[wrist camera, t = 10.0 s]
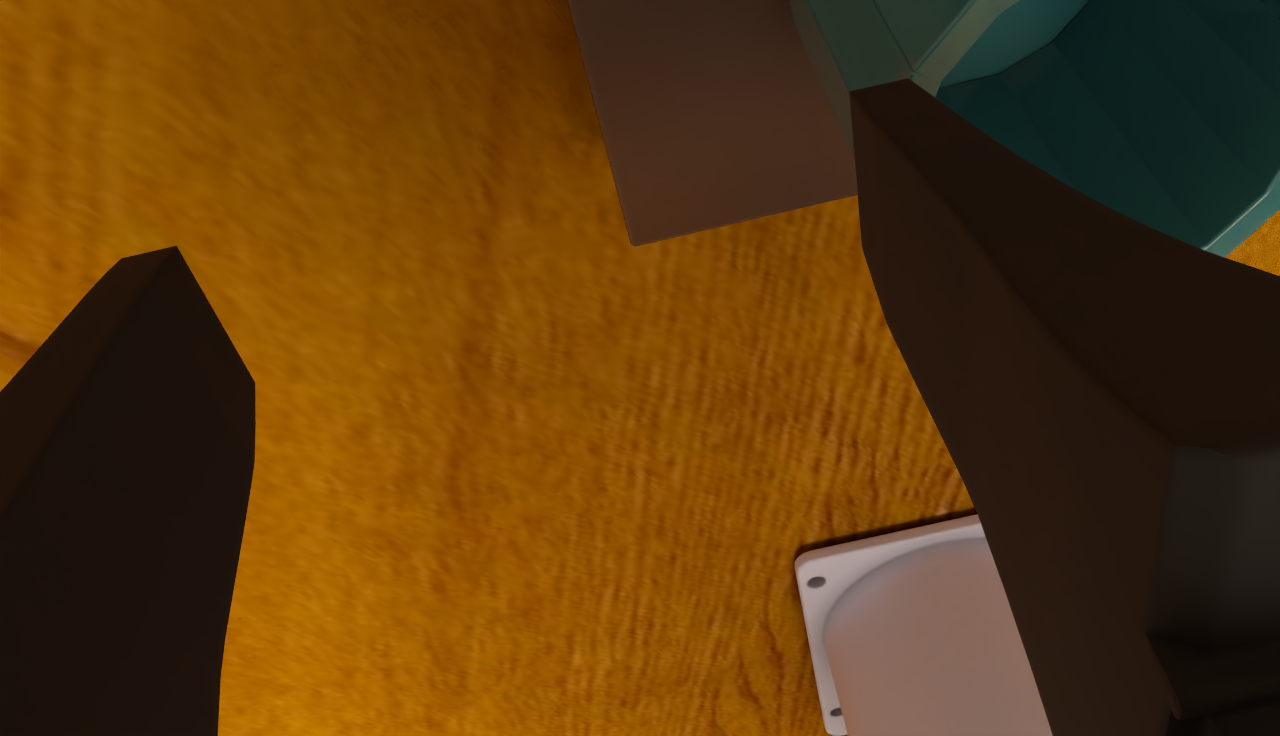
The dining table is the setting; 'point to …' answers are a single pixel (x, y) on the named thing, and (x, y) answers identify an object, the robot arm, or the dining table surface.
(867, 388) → the dining table surface
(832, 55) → the cup
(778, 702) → the dining table surface
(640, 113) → the shelf
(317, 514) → the dining table surface
